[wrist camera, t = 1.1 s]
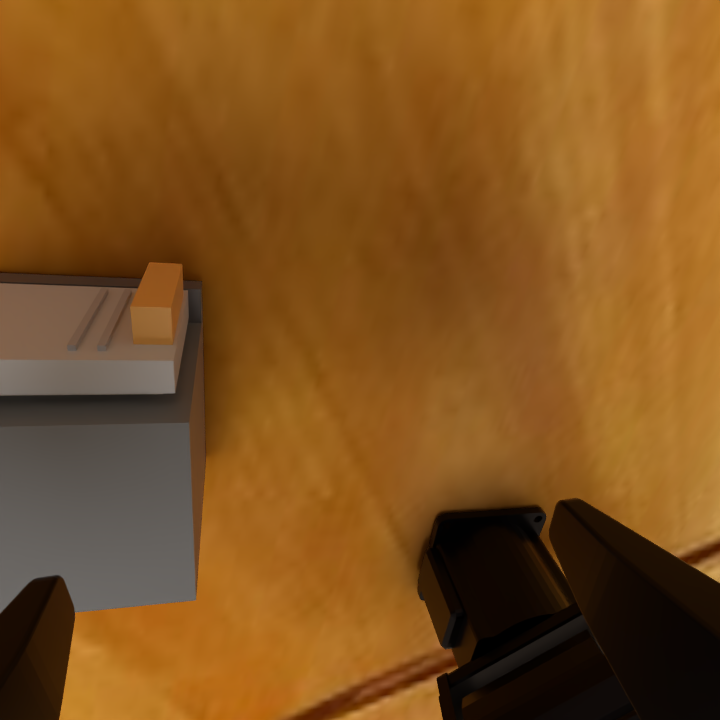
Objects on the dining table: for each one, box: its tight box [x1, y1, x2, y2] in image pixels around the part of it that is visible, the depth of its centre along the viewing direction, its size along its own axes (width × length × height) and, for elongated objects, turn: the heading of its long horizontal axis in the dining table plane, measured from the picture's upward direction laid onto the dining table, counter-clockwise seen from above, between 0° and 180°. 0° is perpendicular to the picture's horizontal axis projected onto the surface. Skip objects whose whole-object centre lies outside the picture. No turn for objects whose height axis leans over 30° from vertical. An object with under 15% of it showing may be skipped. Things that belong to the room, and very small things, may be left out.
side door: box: [0, 262, 189, 395], centre depth 15 cm, size 6×2×5 cm, turn 83°
